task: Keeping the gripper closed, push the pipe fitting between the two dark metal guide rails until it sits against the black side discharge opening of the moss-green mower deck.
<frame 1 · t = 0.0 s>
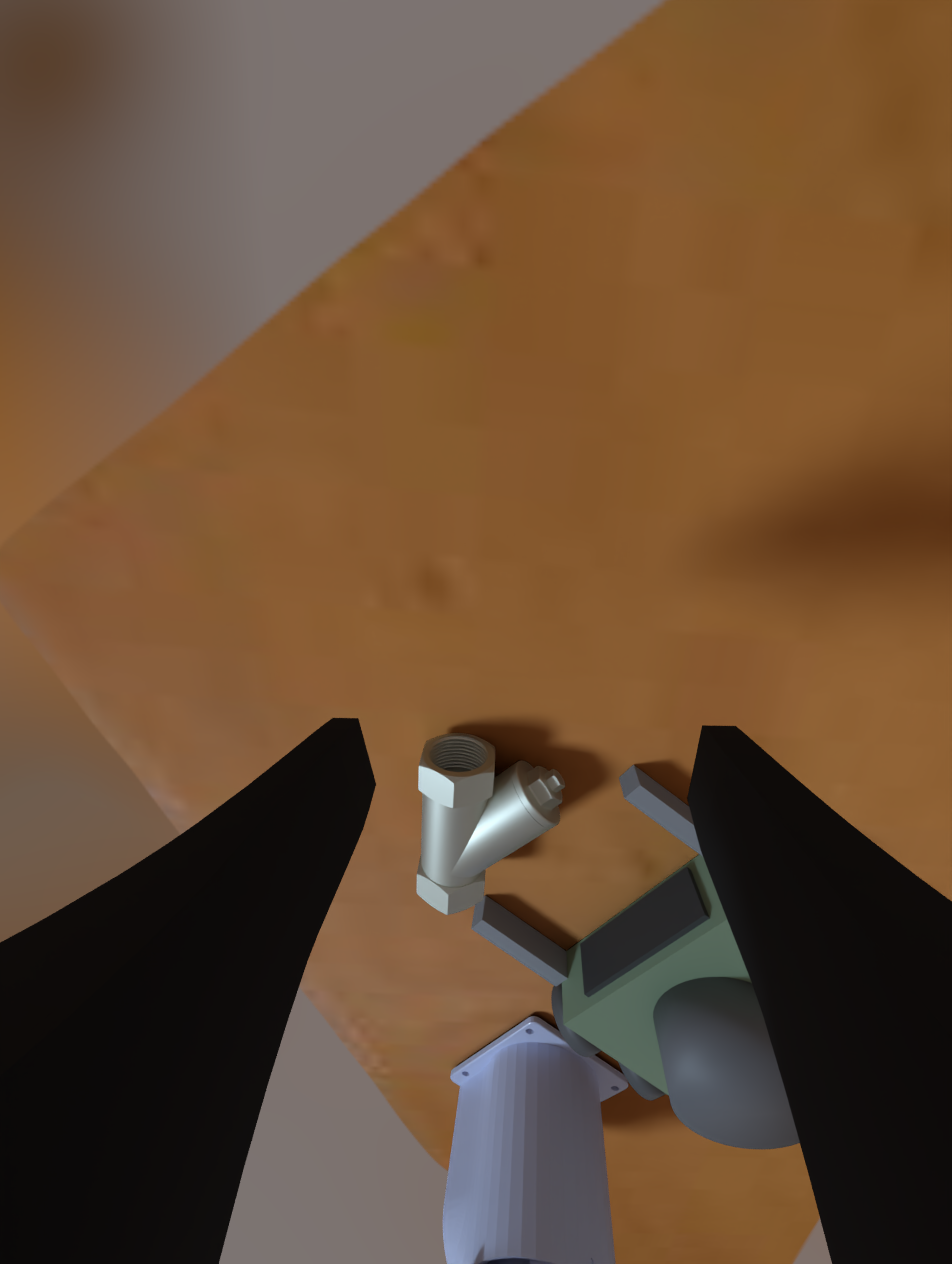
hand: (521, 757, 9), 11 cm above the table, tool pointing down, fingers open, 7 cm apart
mower deck: (688, 942, 24), on the table
pipe fitting: (492, 797, 23), on the table
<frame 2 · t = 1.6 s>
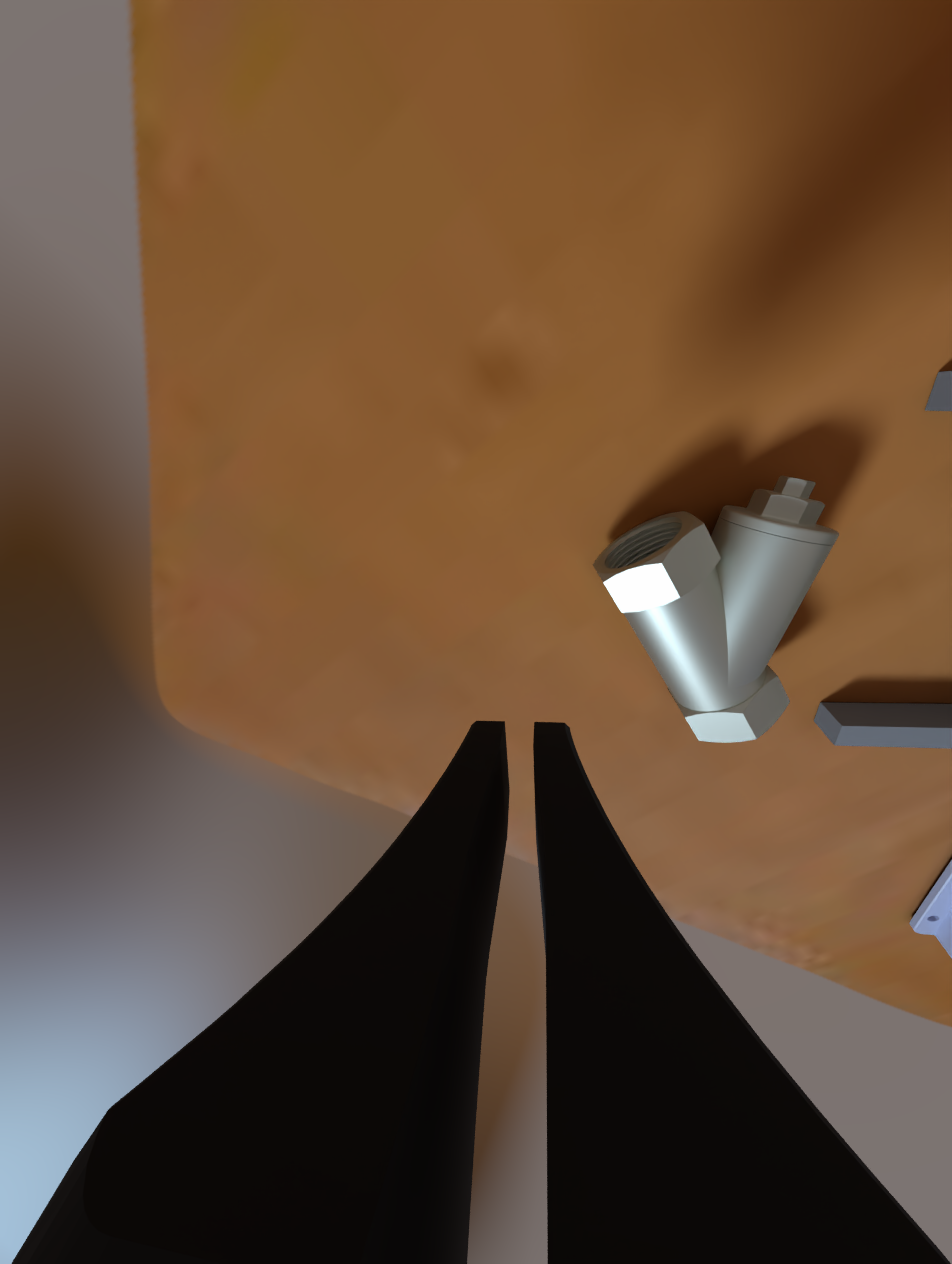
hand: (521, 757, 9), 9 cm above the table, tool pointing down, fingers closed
pipe fitting: (715, 587, 17), on the table
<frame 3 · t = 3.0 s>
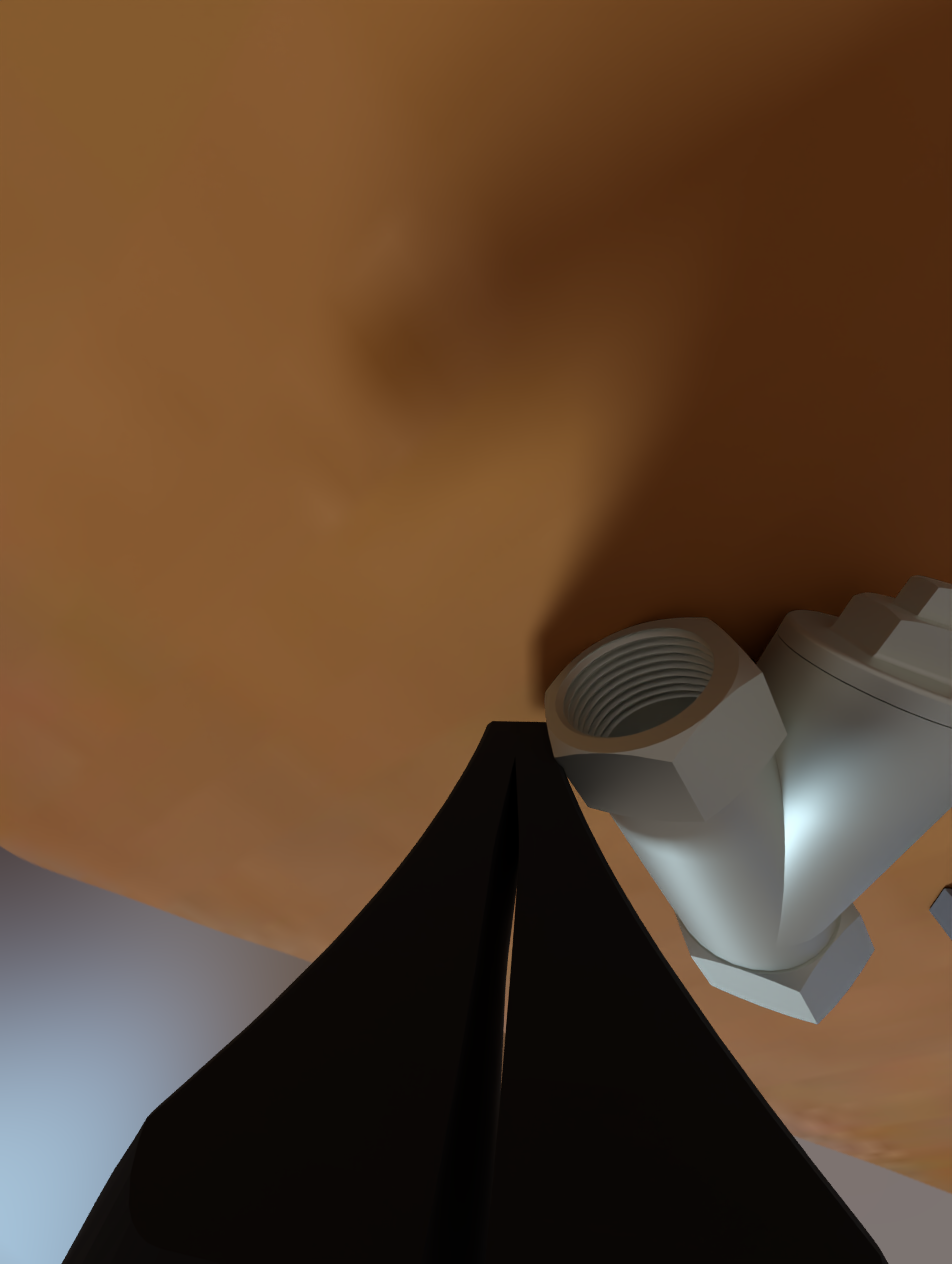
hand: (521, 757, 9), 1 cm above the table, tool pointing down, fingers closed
pipe fitting: (749, 725, 10), on the table, touching gripper
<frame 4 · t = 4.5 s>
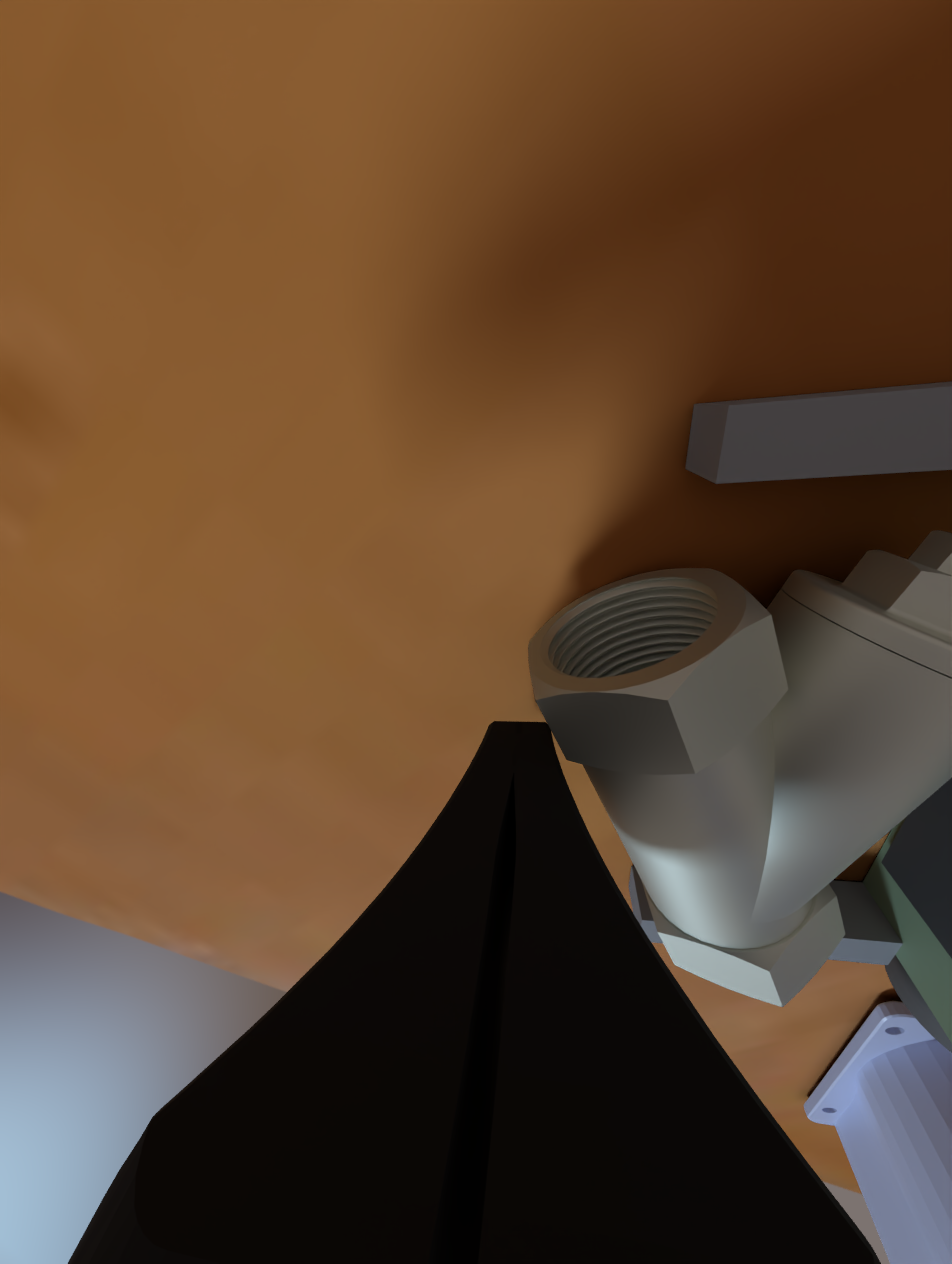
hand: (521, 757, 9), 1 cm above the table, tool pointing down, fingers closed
pipe fitting: (737, 698, 10), on the table, touching gripper
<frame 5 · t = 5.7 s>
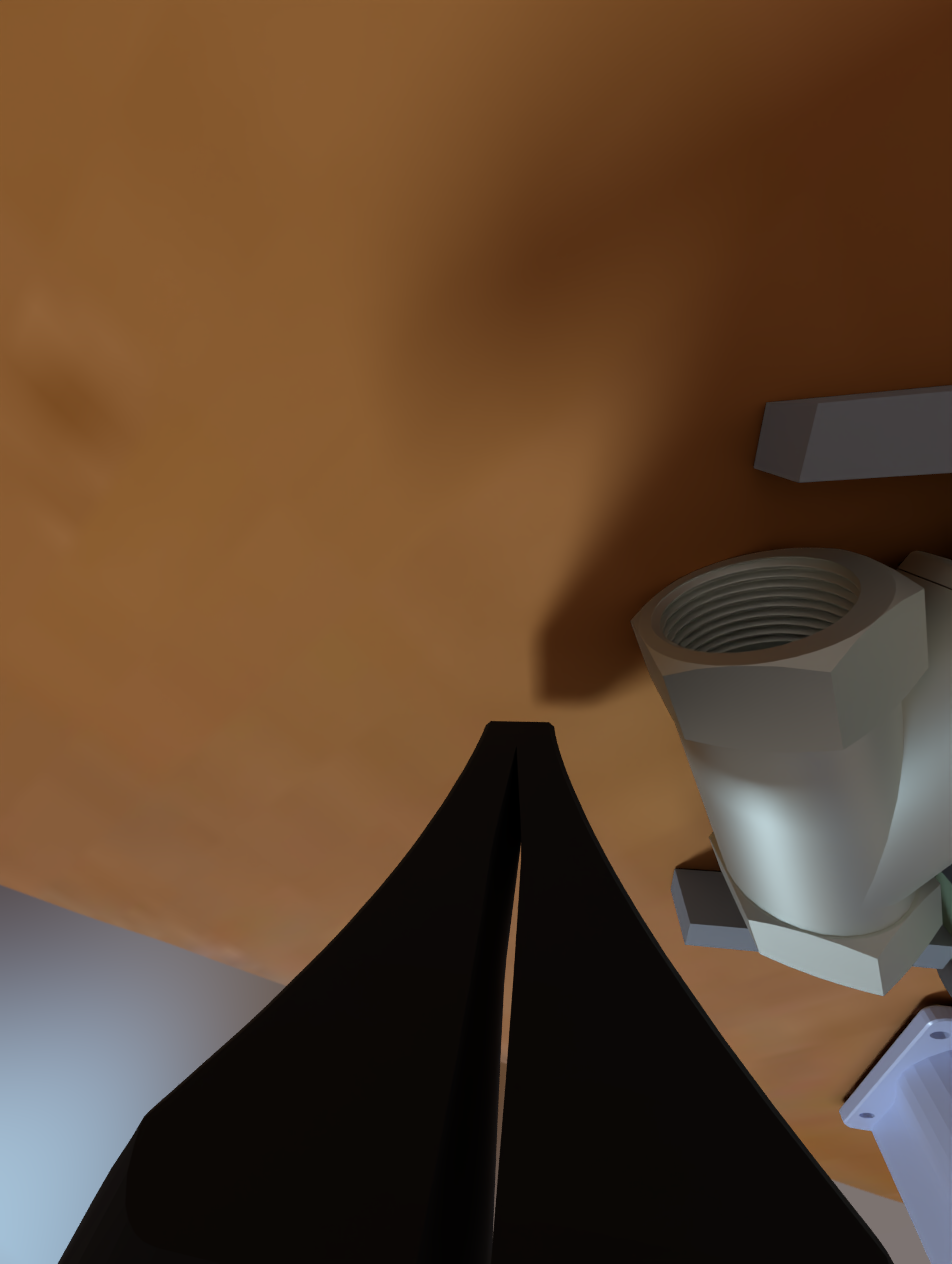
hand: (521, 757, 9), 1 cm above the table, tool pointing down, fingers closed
pipe fitting: (824, 686, 10), on the table
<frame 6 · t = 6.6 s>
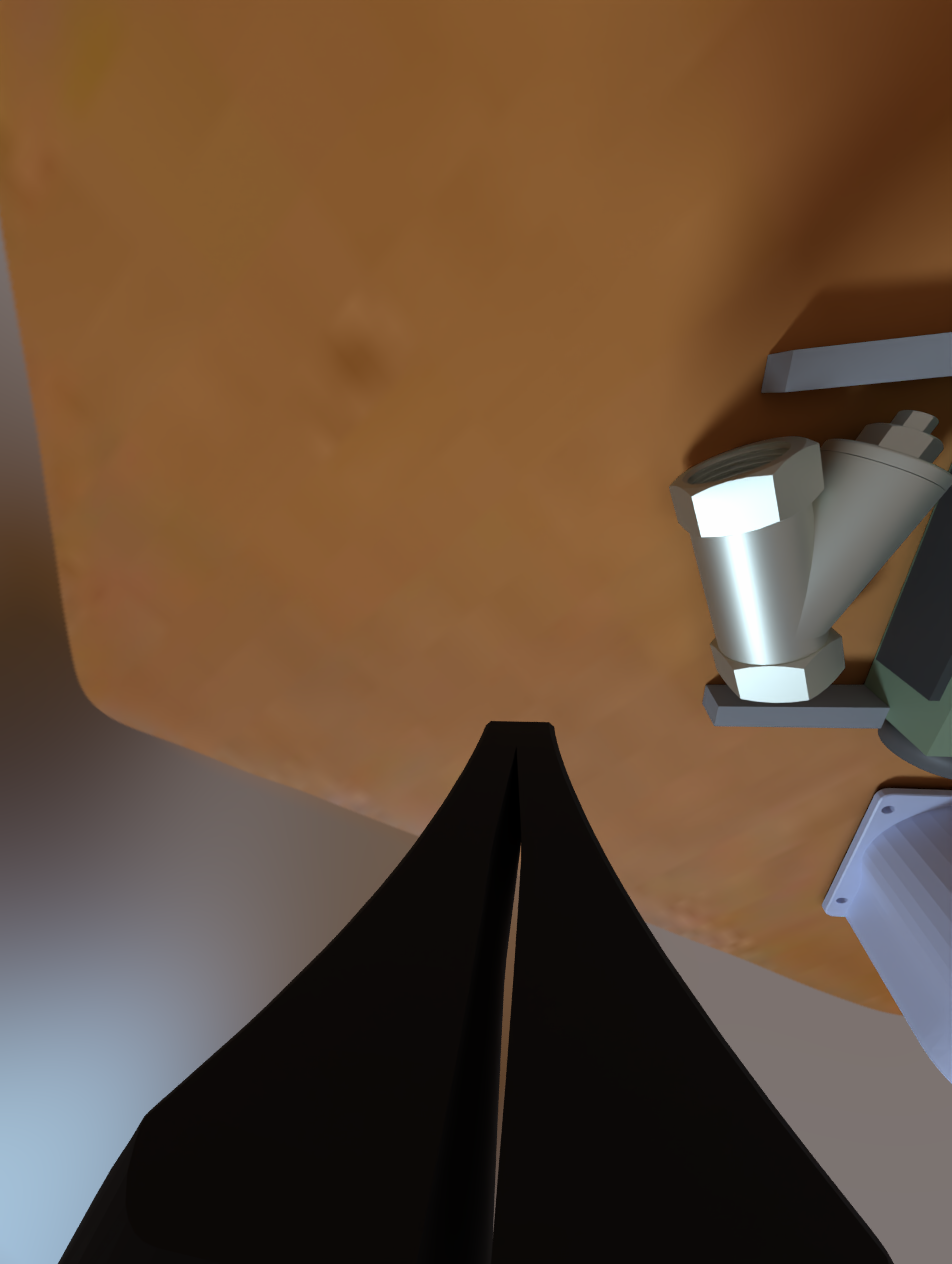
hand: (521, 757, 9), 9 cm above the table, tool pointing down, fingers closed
pipe fitting: (782, 541, 16), on the table
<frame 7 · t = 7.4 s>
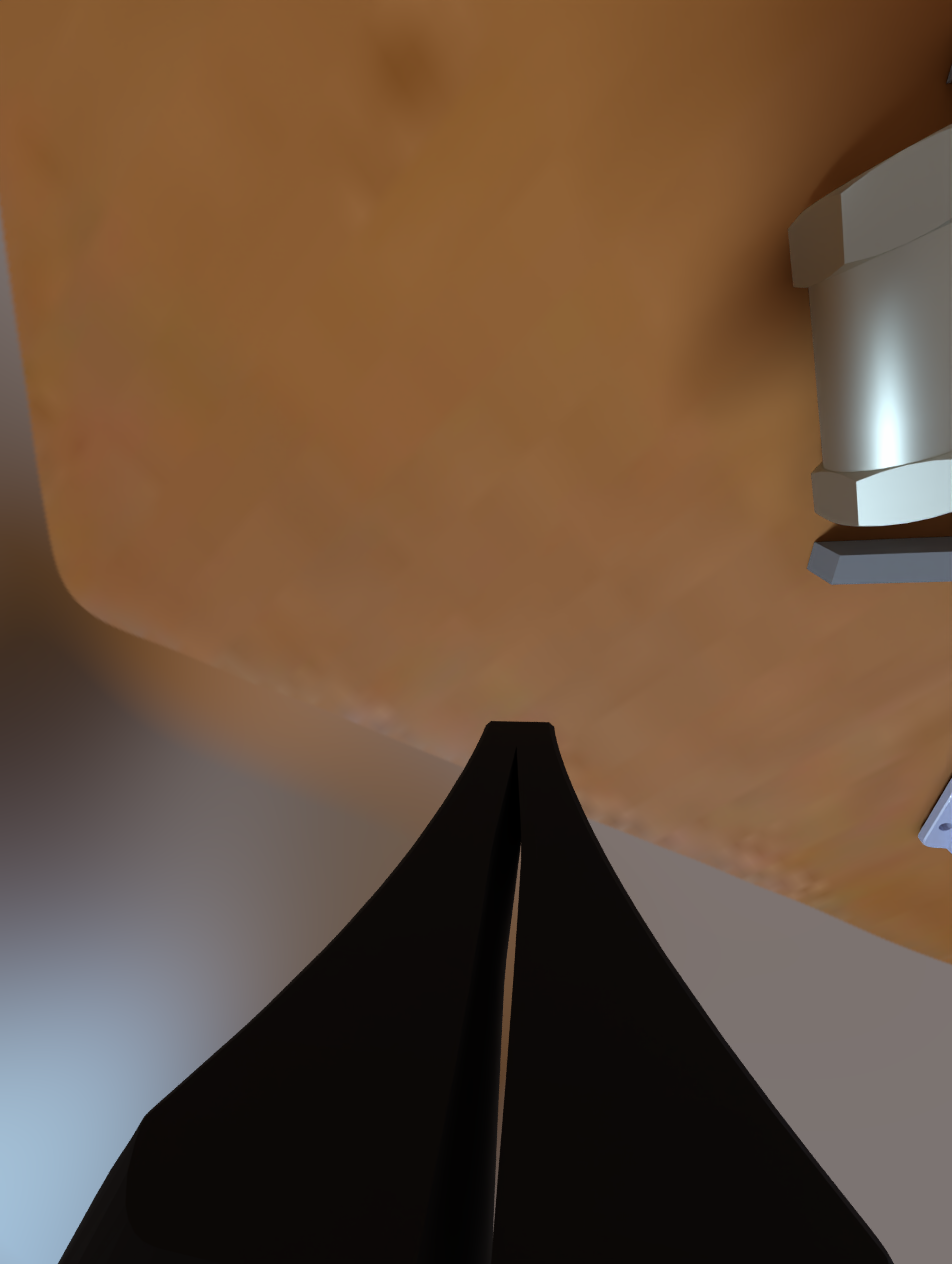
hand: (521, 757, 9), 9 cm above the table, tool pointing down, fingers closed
pipe fitting: (910, 335, 13), on the table
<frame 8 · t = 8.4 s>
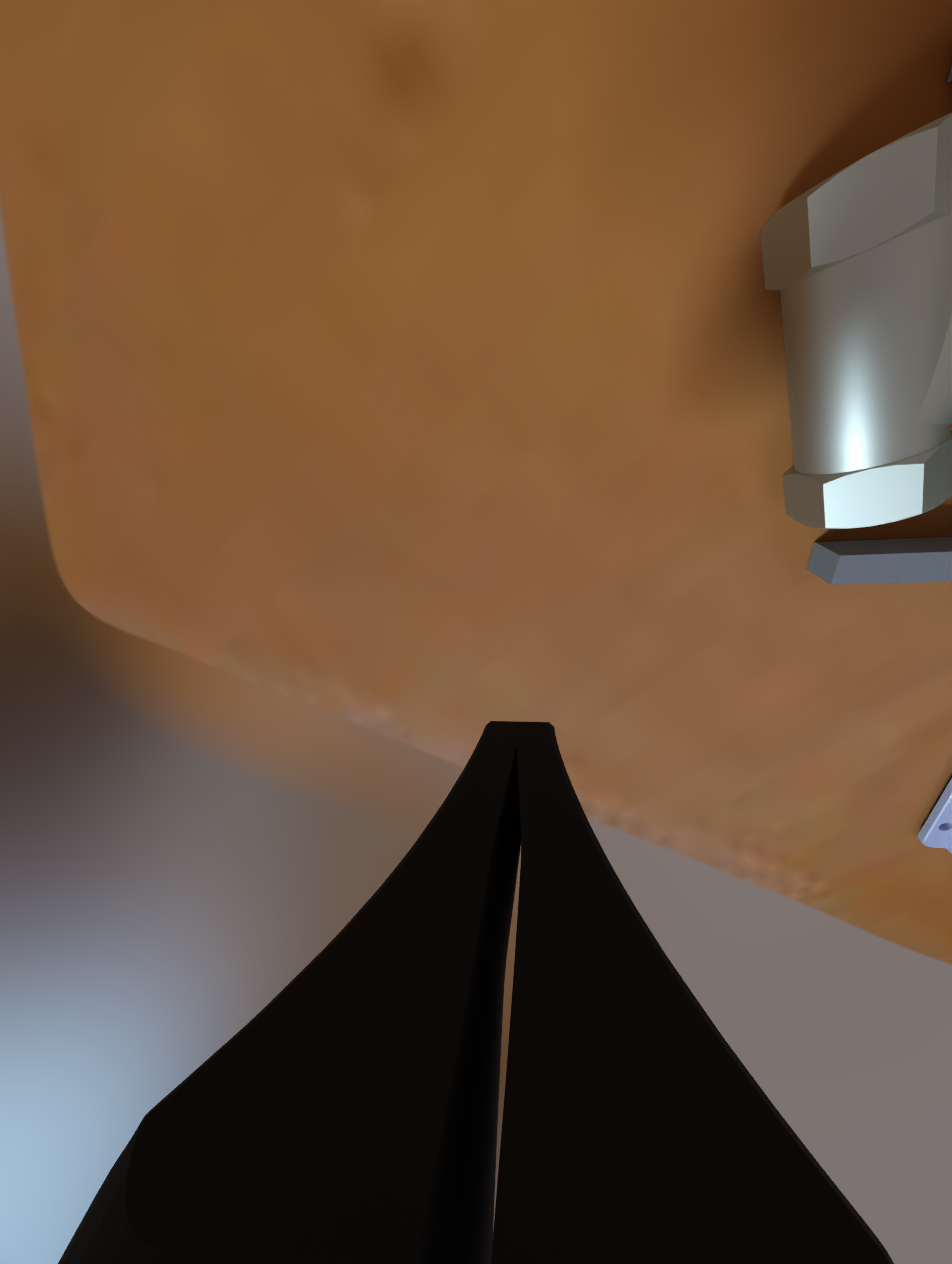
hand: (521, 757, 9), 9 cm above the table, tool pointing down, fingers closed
pipe fitting: (882, 340, 13), on the table
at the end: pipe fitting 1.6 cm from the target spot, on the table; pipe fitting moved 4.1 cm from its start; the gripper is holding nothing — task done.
